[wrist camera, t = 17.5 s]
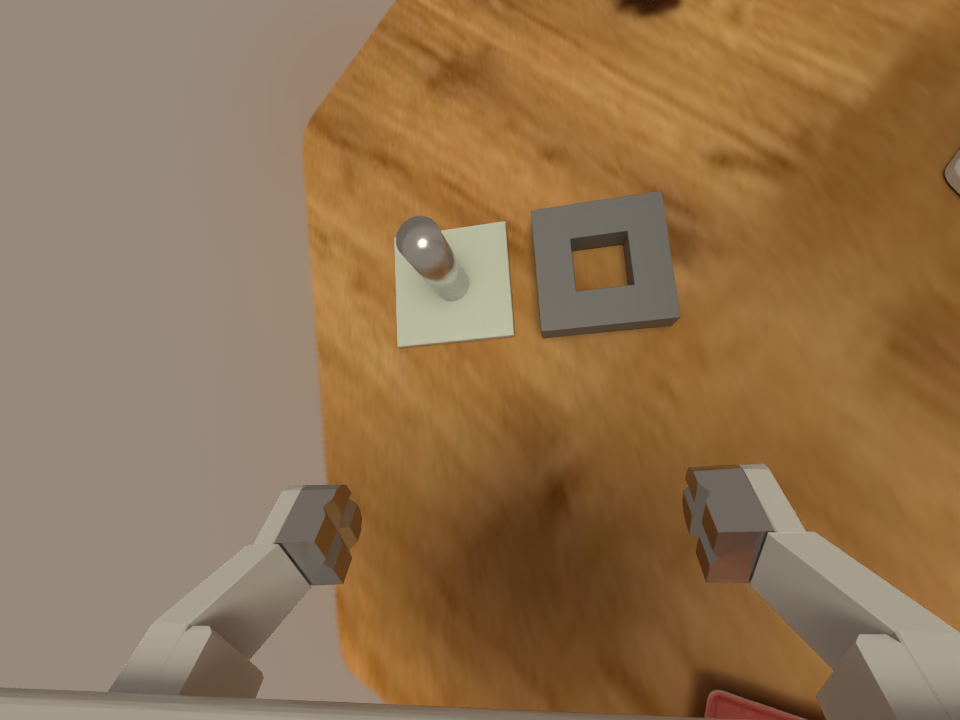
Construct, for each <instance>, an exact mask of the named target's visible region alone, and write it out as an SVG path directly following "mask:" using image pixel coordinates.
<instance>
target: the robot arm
mask: <svg viewBox="0 0 960 720" xmlns="http://www.w3.org/2000/svg"><path fill="white" fill-rule="evenodd" d="M945 177H946V179H947V181H948V182H949V184H950V185H951V186H952V187H953V188H954V189H955V190H956V191H957V192H958V193H959V194H960V149H959V150H958V152H957V153H956V155H955V156H954V157H953V159H952V160H951V161H950V163H949V164H948V166H947V167H946V169H945ZM685 479H686V481H687V484H688V488H687V489H686V490H684V492H683V512H684V517H685V521H686V525H687V528H688V531H689V534H691V535H692V536H693V537H694V538H695V539H696V540H698V543H697V549H696V554H697V557H698V560H699V563H700V566H701V569H702V572H703V574H704V577H705V580H706V582H721V583H750V586H751V587H752V588H753V589H754V590H755V591H756V592H757V593H758V594H759V595H760V596H761V597H762V598H763V599H764V600H765V601H766V602H767V603H768V604H769V605H770V606H771V607H772V608H773V609H774V610H775V611H776V612H777V613H778V614H779V615H780V616H781V617H782V618H783V619H784V621H785V622H786V623H787V624H788V625H789V626H790V627H791V628H792V629H793V630H794V631H795V632H796V633H797V634H798V635H799V636H800V637H801V638H802V639H803V640H804V641H805V642H806V643H807V644H808V645H809V646H810V647H811V648H812V649H813V650H814V651H815V652H816V653H817V654H818V655H819V656H820V657H821V658H822V659H823V660H824V661H825V662H826V663H827V664H828V665H829V666H830V667H831V668H832V669H833V670H834V671H833V672H832V674H831V675H830V676H829V678H828V679H827V681H826V682H825V684H824V685H823V686H822V688H821V689H820V691H819V693H818V694H817V696H816V698H817V700H818V702H819V705H820V707H821V709H822V711H823V714H824V716H825V718H826V720H960V632H958V631H957V630H956V629H954V628H953V627H951V626H950V625H948V624H947V623H945V622H944V621H943V620H941V619H940V618H938V617H937V616H935V615H934V614H932V613H931V612H930V611H928V610H927V609H925V608H924V607H922V606H921V605H920V604H918V603H917V602H915V601H914V600H912V599H911V598H909V597H908V596H907V595H905V594H904V593H902V592H901V591H899V590H898V589H897V588H895V587H894V586H892V585H891V584H889V583H888V582H886V581H885V580H884V579H882V578H881V577H879V576H878V575H876V574H875V573H874V572H872V571H871V570H869V569H868V568H866V567H865V566H863V565H862V564H861V563H859V562H858V561H856V560H855V559H853V558H852V557H851V556H849V555H848V554H846V553H845V552H843V551H842V550H840V549H839V548H838V547H836V546H835V545H833V544H832V543H830V542H829V541H828V540H826V539H825V538H823V537H822V536H820V535H819V534H817V533H816V532H806V530H805V528H804V527H803V525H802V523H801V522H800V520H799V518H798V516H797V515H796V513H795V511H794V510H793V508H792V506H791V505H790V503H789V501H788V500H787V498H786V496H785V494H784V493H783V491H782V489H781V488H780V486H779V484H778V483H777V481H776V479H775V478H774V476H773V474H772V473H771V471H770V469H769V468H768V467H767V466H766V465H765V464H747V465H720V466H703V467H689V468H688V470H687V472H686V478H685ZM350 495H351V492H350V490H349V488H348V487H347V485H302V486H288V487H287V488H286V489H284V490H283V491H282V493H281V495H280V497H279V499H278V500H277V502H276V504H275V506H274V508H273V509H272V511H271V513H270V515H269V516H268V518H267V520H266V522H265V524H264V526H263V527H262V529H261V531H260V533H259V535H258V536H257V538H256V540H255V542H254V544H251V545H247V546H246V547H244V548H243V549H242V550H241V551H239V552H238V553H237V554H236V555H235V556H233V557H232V558H231V559H230V560H229V561H228V562H226V563H225V564H224V565H222V566H221V567H220V568H219V569H218V570H217V571H215V572H214V573H213V574H212V575H211V576H209V577H208V578H207V579H206V580H204V581H203V582H202V583H201V584H199V585H198V586H197V587H196V588H195V589H193V590H192V591H191V592H190V593H189V594H188V595H186V596H185V597H184V598H182V599H181V600H180V601H179V602H178V603H176V604H175V605H174V606H173V607H172V608H170V609H169V610H168V611H167V612H166V613H164V614H163V615H162V616H161V617H160V618H158V619H157V620H156V621H155V622H153V623H152V625H151V626H150V628H149V629H148V631H147V633H146V634H145V636H144V637H143V639H142V640H141V642H140V643H139V645H138V646H137V648H136V650H135V651H134V653H133V654H132V656H131V657H130V659H129V660H128V662H127V663H126V665H125V666H124V668H123V669H122V671H121V673H120V674H119V676H118V677H117V679H116V680H115V682H114V683H113V685H112V686H111V688H110V689H109V691H108V692H96V691H73V690H46V689H22V688H0V720H740V719H717V718H694V717H671V716H648V715H625V714H602V713H580V712H557V711H534V710H511V709H488V708H465V707H442V706H419V705H396V704H373V703H372V704H371V703H350V702H327V701H304V700H303V701H302V700H279V699H257V698H256V696H257V693H258V691H259V688H260V686H261V683H262V680H263V674H262V672H261V671H260V670H259V669H258V668H257V667H256V666H255V665H253V664H252V663H251V662H250V661H249V660H250V659H251V657H252V656H253V655H254V654H255V653H256V652H257V650H258V649H259V648H260V647H261V646H262V645H263V643H264V642H265V641H266V640H267V639H268V638H269V636H270V635H271V634H272V633H273V632H274V631H275V629H276V628H277V627H278V626H279V625H280V623H281V622H282V621H283V620H284V619H285V617H286V616H287V615H288V614H289V613H290V612H291V611H292V609H293V608H294V607H295V606H296V605H297V604H298V602H299V601H300V600H301V599H302V598H303V597H304V595H305V594H306V593H307V592H308V591H309V590H310V588H311V586H310V585H336V584H343V583H344V580H345V577H346V574H347V571H348V568H349V565H350V563H351V560H352V557H351V554H350V551H349V549H350V548H351V547H352V546H353V545H354V544H355V543H356V542H357V541H358V539H359V536H360V533H361V526H362V516H361V511H360V508H359V506H358V504H356V503H355V502H353V501H352V500H350V499H349V498H350Z"/></svg>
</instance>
